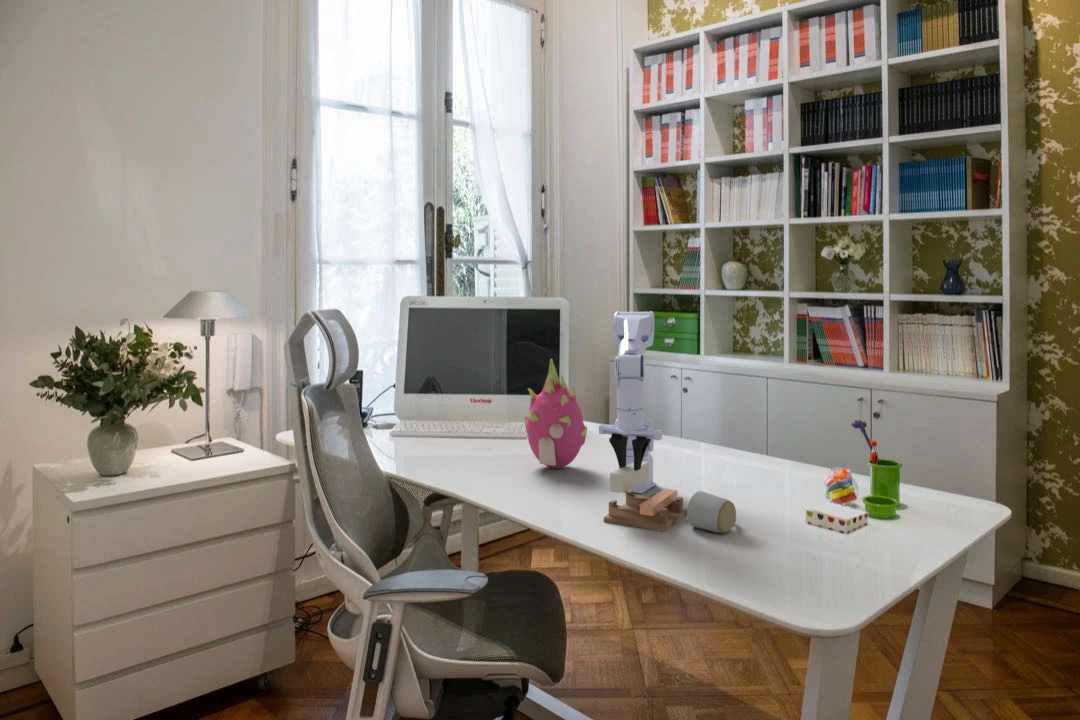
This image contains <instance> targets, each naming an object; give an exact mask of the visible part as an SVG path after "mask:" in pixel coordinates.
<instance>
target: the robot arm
mask: <svg viewBox="0 0 1080 720" xmlns="http://www.w3.org/2000/svg"><path fill="white" fill-rule="evenodd" d="M613 318H614V319H613V330H614V332H613V334H614V337H615V338H614V339H615V342H616V345H617V346H618V354H617V355H618V356H615V358H614V377H615V384H616V386H615V387H616V389H617V390H616V419H615V422H614V423H613V424H604V423H603V424H601V425H598V434H599V435H610V436H611V437H609V438H608V439H609V440H608V441H609V444H611V445H610V446H611V447H612V449H613V451H614V454H615V456H616V459H617V463H618V469H620V468H622V467H624V466H626V465H629V464H631V463H633V462H634V470H635V471H638V470H639V469H641V464H642V461H644V462H649V479H648V480H646V481H644V482H643V483H641V484H639V485H637V486H635V487H633V488H631V489H629V490H634V493H637V494H643V493H645V492H646V491H648V490H650V489H651V488H653V487H655V486H656V485H657V482H655V481H654V458H653V456H652V454H651V453H652V452H653V450H654V441H661V440H663V430H662V429H655V428H654V422H653V420H652V419H651V418H649V417H648V416H647V415H645V413H644V381H645V379H646V378H645V377H646V358H645V357H646V356H645V352H646V349H648V348H650V347H652V346H653V345H654V343H653V342H654V341H655V340H654V339H655V312H653V311H652V310H650V311H619V310H616V311H615V313H614V315H613ZM629 490H627V491H629ZM627 491H626V492H627Z"/></svg>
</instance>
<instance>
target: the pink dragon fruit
mask: <svg viewBox="0 0 1080 720" xmlns="http://www.w3.org/2000/svg"><path fill="white" fill-rule="evenodd" d="M543 385H544V386H543V387H542V390H541V392H540V393H539V394H536V393H535V392H534V390H533V389H531V388H530V387H528V388H527V390H528V393H529V396H530V397H529V398H530V401H529V412H528V416H524V424H525V425H524V426H525V427H524V428H525V430H526V433H527V441H528V443H529V447H530V449H531V452H532V453H533V455H534V456H535V458H536V459H537V460H538V461H539V465H543V466H546V467H548V468H552V469H561V468H564V467H566V466H568V465H570V464H571V463H572V462H573V461H574V460H575V459H576V457H577V456H578V454H579V452H580V451H581V448H582V447H583V445H584V444H585V443H586V439H587V437H586V436H587V434H588V433H587V432H588V426H587V425H585V423H584V418H583V413H582V409H581V407H580V406H579V404H578V403H577V391H576V388H575V387H574V386H572V395H571V394H570V391H569V388H568V386H567V383H566V381H565V378H564V376H563V372H561V373H560V378H559V376H558V373H557V369H556V367H555V364H554V360H553V358H550V360H549V366H548V373H547V377H546V379H545V381H544V383H543Z"/></svg>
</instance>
